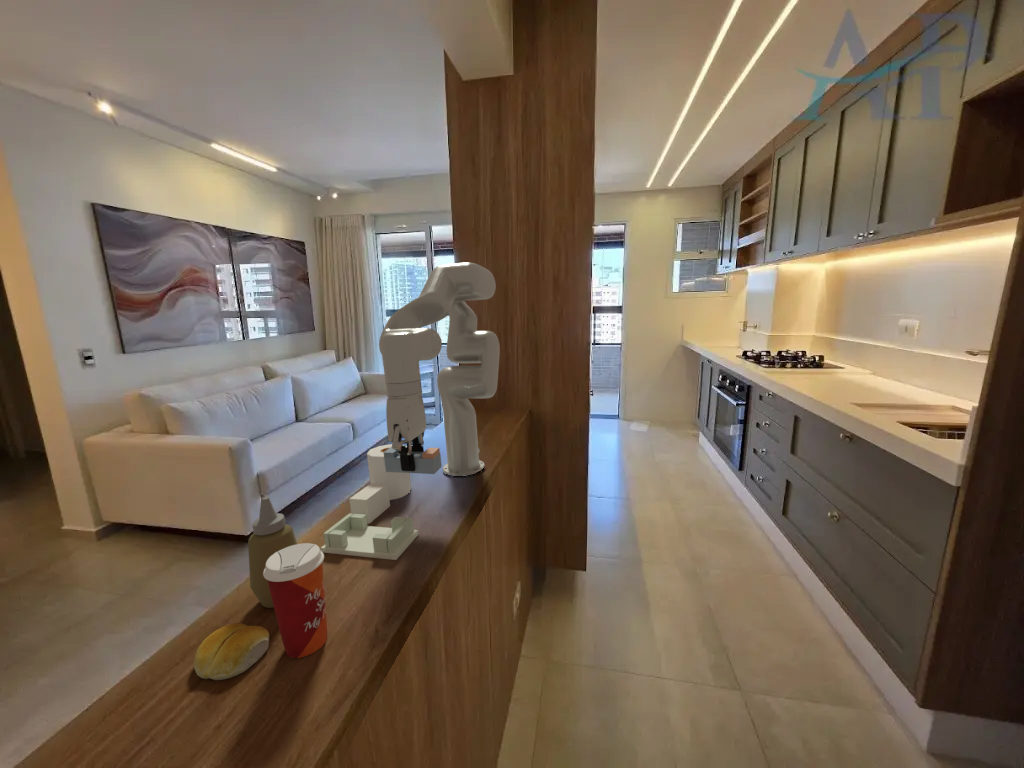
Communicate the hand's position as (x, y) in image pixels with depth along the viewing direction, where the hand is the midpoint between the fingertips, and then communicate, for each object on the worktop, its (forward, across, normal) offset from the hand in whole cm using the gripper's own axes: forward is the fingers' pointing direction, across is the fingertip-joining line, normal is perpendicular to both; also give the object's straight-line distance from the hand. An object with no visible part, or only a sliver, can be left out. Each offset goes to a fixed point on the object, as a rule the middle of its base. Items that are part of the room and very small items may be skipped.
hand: (413, 465), depth 95 cm
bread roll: (+12, +42, -8) cm, 45 cm away
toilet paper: (+13, -12, -14) cm, 23 cm away
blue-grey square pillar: (+1, 0, 0) cm, 1 cm away
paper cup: (+12, +38, +1) cm, 40 cm away
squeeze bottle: (+12, +30, -11) cm, 34 cm away
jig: (+12, +12, -5) cm, 18 cm away
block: (+13, 0, -12) cm, 18 cm away
